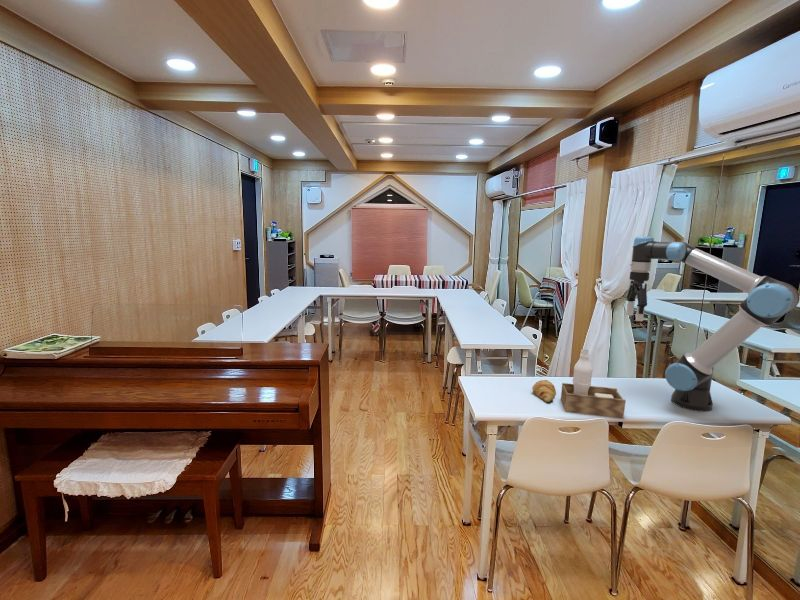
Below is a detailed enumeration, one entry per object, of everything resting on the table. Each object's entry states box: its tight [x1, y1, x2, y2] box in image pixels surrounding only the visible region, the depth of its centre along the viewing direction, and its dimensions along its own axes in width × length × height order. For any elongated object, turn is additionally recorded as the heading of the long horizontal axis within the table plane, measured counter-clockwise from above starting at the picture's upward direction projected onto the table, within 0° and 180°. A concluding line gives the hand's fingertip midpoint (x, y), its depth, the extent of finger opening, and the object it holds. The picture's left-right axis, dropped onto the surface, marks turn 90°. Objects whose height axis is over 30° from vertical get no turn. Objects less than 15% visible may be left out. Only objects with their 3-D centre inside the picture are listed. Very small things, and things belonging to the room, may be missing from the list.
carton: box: [594, 393, 614, 398], centre depth 172 cm, size 7×10×5 cm
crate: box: [560, 382, 626, 420], centre depth 173 cm, size 22×13×9 cm, turn 76°
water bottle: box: [572, 349, 593, 395], centre depth 173 cm, size 7×7×25 cm
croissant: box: [532, 379, 557, 403], centre depth 190 cm, size 21×10×8 cm, turn 172°
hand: (634, 318), depth 187 cm, fingers open, 13 cm apart
